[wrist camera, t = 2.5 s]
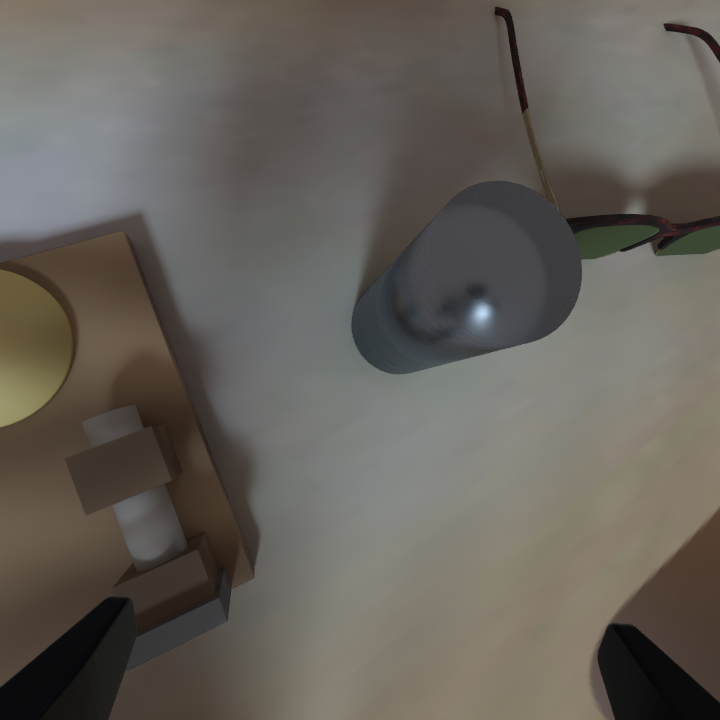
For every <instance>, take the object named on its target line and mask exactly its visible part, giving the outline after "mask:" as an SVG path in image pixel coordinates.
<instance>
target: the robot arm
mask: <svg viewBox="0 0 720 720" xmlns="http://www.w3.org/2000/svg"><path fill="white" fill-rule="evenodd" d="M136 636H137V623H136V617H135V611H134V605H133V601H132V599H131V598H130V597H119V596H111V597H108V598H106V599H104V600H103V601H102V602H101V603H99V604H98V605H97V606H96V607H95V608H93V609H92V610H91V611H90V612H89V613H88V614H86V615H85V616H84V617H83V618H82V619H80V620H79V621H78V622H77V623H76V624H75V625H73V626H72V627H71V628H70V629H69V630H67V631H66V632H65V633H64V634H63V635H61V636H60V637H59V638H58V639H57V640H56V641H54V642H53V643H52V644H51V645H50V646H48V647H47V648H46V649H45V650H44V651H42V652H41V653H40V654H39V655H38V656H37V657H35V658H34V659H33V660H32V661H31V662H29V663H28V664H27V665H26V666H25V667H23V668H22V669H21V670H20V671H19V672H18V673H16V674H15V675H14V676H13V677H12V678H10V679H9V680H8V681H7V682H6V683H4V684H3V685H2V686H1V687H0V720H108V719H109V716H110V713H111V710H112V707H113V704H114V701H115V698H116V695H117V693H118V690H119V687H120V684H121V681H122V678H123V675H124V672H125V669H126V666H127V664H128V661H129V658H130V655H131V652H132V649H133V646H134V643H135V640H136ZM598 664H599V668H600V671H601V675H602V678H603V682H604V685H605V688H606V691H607V695H608V698H609V701H610V705H611V708H612V711H613V715H614V718H615V720H720V702H719V701H717V700H716V699H715V698H714V697H713V696H712V695H711V694H710V693H709V692H707V691H706V690H705V689H704V688H703V687H702V686H701V685H700V684H699V683H698V682H696V681H695V680H694V679H693V678H692V677H691V676H690V675H689V674H687V673H686V672H685V671H684V670H683V669H682V668H681V667H680V666H679V665H678V664H676V663H675V662H674V661H673V660H672V659H671V658H670V657H669V656H668V655H666V654H665V653H664V652H663V651H662V650H661V649H660V648H659V647H658V646H657V645H655V644H654V643H653V642H652V641H651V640H650V639H649V638H648V637H647V636H645V635H644V634H643V633H642V632H641V631H640V630H639V629H638V628H636V627H635V626H633V625H631V624H624V623H611V624H609V625H608V626H607V629H606V631H605V634H604V636H603V639H602V642H601V644H600V647H599V649H598Z"/></svg>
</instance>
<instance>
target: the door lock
mask: <svg viewBox="0 0 720 720" xmlns="http://www.w3.org/2000/svg"><path fill="white" fill-rule="evenodd" d="M253 578H254V566H253V563H252V560H251V558H250V555H249V553H248V550H247V547H246V545H245V542H244V539H243V537H242V534H241V531H240V529H239V526H238V523H237V521H236V518H235V515H234V513H233V510H232V508H231V505H230V502H229V500H228V497H227V494H226V492H225V489H224V486H223V484H222V481H221V478H220V476H219V473H218V471H217V468H216V465H215V463H214V460H213V457H212V455H211V452H210V449H209V447H208V444H207V441H206V439H205V436H204V434H203V431H202V428H201V426H200V423H199V420H198V418H197V415H196V412H195V410H194V407H193V404H192V402H191V399H190V397H189V394H188V391H187V389H186V386H185V383H184V381H183V378H182V375H181V373H180V370H179V367H178V365H177V362H176V359H175V357H174V354H173V352H172V349H171V346H170V344H169V341H168V338H167V336H166V333H165V330H164V328H163V325H162V322H161V320H160V317H159V315H158V312H157V309H156V307H155V304H154V301H153V299H152V296H151V293H150V291H149V288H148V285H147V283H146V280H145V278H144V275H143V272H142V270H141V267H140V264H139V262H138V259H137V256H136V254H135V251H134V248H133V246H132V243H131V241H130V239H129V238H128V237H127V235H126V234H125V232H124V231H119V232H116V233H112V234H108V235H104V236H101V237H97V238H93V239H89V240H86V241H82V242H78V243H74V244H71V245H67V246H63V247H59V248H56V249H52V250H48V251H44V252H41V253H37V254H33V255H29V256H26V257H22V258H18V259H14V260H11V261H7V262H3V263H0V687H1V686H2V685H3V684H4V683H6V682H7V681H8V680H9V679H10V678H12V677H13V676H14V675H15V674H16V673H18V672H19V671H20V670H21V669H22V668H23V667H25V666H26V665H27V664H28V663H29V662H31V661H32V660H33V659H34V658H35V657H37V656H38V655H39V654H40V653H41V652H42V651H44V650H45V649H46V648H47V647H48V646H50V645H51V644H52V643H53V642H54V641H56V640H57V639H58V638H59V637H60V636H61V635H63V634H64V633H65V632H66V631H67V630H69V629H70V628H71V627H72V626H73V625H75V624H76V623H77V622H78V621H79V620H80V619H82V618H83V617H84V616H85V615H86V614H88V613H89V612H90V611H91V610H92V609H93V608H95V607H96V606H97V605H98V604H99V603H101V602H102V601H103V600H104V599H106V598H108V597H111V596H119V597H130V598H131V599H132V601H133V605H134V611H135V617H136V623H137V636H136V640H135V643H134V646H133V649H132V652H131V655H130V658H129V661H128V664H127V666H126V669H127V670H129V669H131V668H133V667H136V666H138V665H140V664H142V663H144V662H146V661H148V660H150V659H152V658H154V657H156V656H158V655H160V654H162V653H164V652H166V651H168V650H170V649H172V648H174V647H176V646H178V645H180V644H182V643H184V642H186V641H188V640H190V639H192V638H194V637H196V636H198V635H200V634H202V633H204V632H206V631H208V630H210V629H212V628H214V627H216V626H218V625H220V624H222V623H224V622H226V621H227V620H228V612H229V604H230V596H231V589H232V588H234V587H236V586H238V585H240V584H242V583H244V582H247V581H249V580H251V579H253Z"/></svg>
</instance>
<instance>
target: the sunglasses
mask: <svg viewBox="0 0 720 720" xmlns="http://www.w3.org/2000/svg"><path fill="white" fill-rule="evenodd" d="M495 15H499V16H502V17H503V18H504V19H505V21H506V25H507V29H508V35H509V42H510V49H511V56H512V62H513V68H514V74H515V79H516V85H517V90H518V95H519V100H520V105H521V109H522V114H523V118H524V122H525V126H526V130H527V133H528V137H529V141H530V144H531V148H532V151H533V154H534V158H535V161H536V164H537V167H538V171H539V174H540V177H541V180H542V183H543V186H544V190H545V193H546V199H547V200H548V201H549V202H551V203H552V204H553V205H554V206H555V207H556V208H557V210H558V211H559V212H560V210H559V207H558V203H557V200H556V197H555V194H554V191H553V189H552V188H551V185H550V183H549V181H548V178H547V175H546V173H545V170H544V167H543V163H542V160H541V157H540V154H539V150H538V147H537V144H536V140H535V137H534V133H533V129H532V126H531V121H530V116H529V111H528V103H527V98H526V93H525V89H524V83H523V78H522V72H521V67H520V61H519V55H518V49H517V43H516V37H515V31H514V25H513V20H512V16H511V13H510V12H509V10H507V9H504V8H499V7H495ZM664 27H665V29H666V31H673V32H680V33H686V34H692V35H695V36H697V37H699V38H701V39H702V40H704V41H705V42H706V43H707V44H708V46H709V47H710V48H711V50H712V51H713V53H714V54H715V56H716V57H717V59H718V60H719V62H720V46H719V44H718V43H717V42H716V41H715V39H714V38H713V37H712V36H711V35H710V34H709V33H707V32H706V31H704V30H702V29H699V28H695V27H689V26H683V25H675V24H664ZM565 220H566V221H567V223H568V225H569V226H570V228H571V230H572V232H573V234H574V236H575V239H576V242H577V245H578V248H579V252H580V257H581V259H597V258H600V257H604V256H607V255H610V254H613V253H615V252H618V251H620V252H624V251H628V250H630V249H633V248H635V247H638V246H641V245H643V244H646V243H648V242H651V241H653V240H655V239H658V238H661V237H664V239H663V240H662V241H661V242H660V243H659V244H658V250H657V251H656V256H665V255H686V254H704V253H708V252H712V251H715V250H718V249H720V216H718V217H713V218H708V219H704V220H700V221H696V222H691V223H687V224H670V223H669V221H668V220H666V219H664V218H661V217H657V216H652V215H641V214H616V215H600V216H588V217H578V218H569V219H565Z"/></svg>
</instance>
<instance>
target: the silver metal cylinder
mask: <svg viewBox="0 0 720 720" xmlns="http://www.w3.org/2000/svg"><path fill="white" fill-rule="evenodd" d="M581 279H582V265H581V257H580V252H579V248H578V245H577V242H576V239H575V236H574V234H573V232H572V230H571V228H570V226H569V225H568V223H567V221H566V220H565V218H564V217H563V216H562V214H561V213H560V212H559V211H558V210H557V208H556V207H555V206H554V205H553V204H552V203H551V202H549V201H548V200H547V199H546V198H544V197H543V196H542V195H540V194H538V193H537V192H535V191H533V190H531V189H529V188H527V187H525V186H522V185H519V184H516V183H511V182H505V181H490V182H484V183H479V184H476V185H473V186H471V187H468V188H467V189H465V190H463V191H461V192H460V193H459V194H457V195H456V196H455V197H454V198H453V199H452V200H451V201H450V202H449V203H448V204H447V205H446V206H445V207H444V208H443V209H442V210H441V211H440V212H439V213H438V215H437V216H436V217H435V218H434V219H433V220H432V221H431V222H430V223H429V224H428V225H427V226H426V227H425V228H424V230H423V231H422V232H421V233H420V234H419V235H418V236H417V237H416V238H415V239H414V240H413V241H412V242H411V244H410V245H409V246H408V247H407V248H406V249H405V250H404V251H403V252H402V253H401V254H400V255H399V256H398V257H397V259H396V260H395V261H394V262H393V263H392V264H391V265H390V266H389V267H388V268H387V269H386V270H385V271H384V272H383V274H382V275H381V276H380V277H379V278H378V279H377V280H376V281H375V282H374V283H373V284H372V285H371V286H370V288H369V289H368V290H367V291H366V292H365V293H364V294H363V295H362V296H361V298H360V299H359V300H358V302H357V304H356V306H355V309H354V312H353V316H352V334H353V338H354V341H355V344H356V346H357V348H358V350H359V352H360V353H361V355H362V356H363V357H364V358H365V359H366V360H367V361H368V362H369V363H370V364H371V365H373V366H374V367H376V368H377V369H379V370H381V371H384V372H387V373H391V374H407V373H412V372H416V371H420V370H424V369H428V368H432V367H436V366H440V365H443V364H447V363H451V362H455V361H459V360H463V359H467V358H471V357H475V356H479V355H483V354H486V353H490V352H494V351H498V350H502V349H506V348H510V347H514V346H518V345H522V344H526V343H529V342H533V341H536V340H539V339H541V338H543V337H545V336H547V335H549V334H550V333H552V332H553V331H555V330H556V329H557V328H558V327H559V326H560V325H561V324H562V323H563V322H564V321H565V320H566V319H567V317H568V316H569V315H570V313H571V311H572V309H573V308H574V306H575V303H576V301H577V298H578V295H579V291H580V287H581Z"/></svg>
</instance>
